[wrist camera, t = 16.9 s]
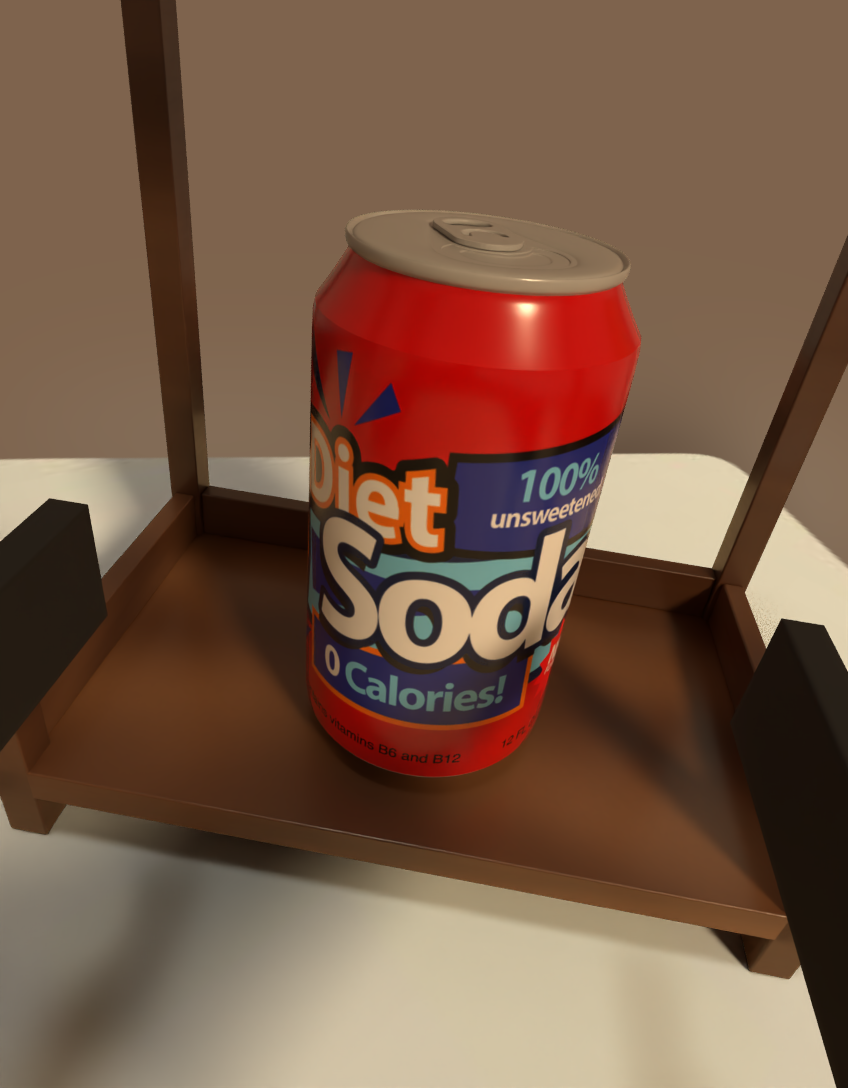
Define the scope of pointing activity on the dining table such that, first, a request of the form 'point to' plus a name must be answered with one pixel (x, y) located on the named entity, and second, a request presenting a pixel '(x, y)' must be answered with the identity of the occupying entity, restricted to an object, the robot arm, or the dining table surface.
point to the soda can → (454, 475)
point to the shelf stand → (280, 660)
